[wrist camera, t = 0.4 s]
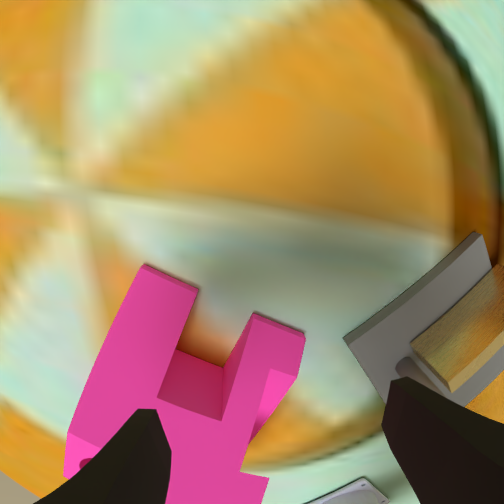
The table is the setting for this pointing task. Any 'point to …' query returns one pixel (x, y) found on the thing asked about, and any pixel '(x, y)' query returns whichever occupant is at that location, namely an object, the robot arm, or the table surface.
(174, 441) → the bracket
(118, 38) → the table surface
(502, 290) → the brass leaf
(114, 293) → the table surface
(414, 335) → the hinge mount
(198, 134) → the table surface
